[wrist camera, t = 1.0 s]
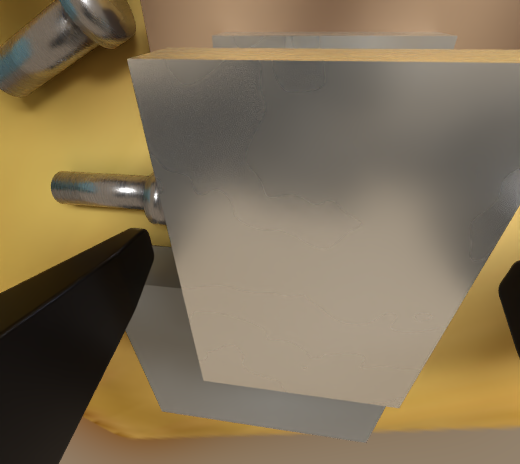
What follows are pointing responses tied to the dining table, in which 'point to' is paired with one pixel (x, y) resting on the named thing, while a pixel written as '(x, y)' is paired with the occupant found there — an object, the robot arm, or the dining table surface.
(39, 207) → the dining table surface
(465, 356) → the dining table surface
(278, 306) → the block
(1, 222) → the dining table surface
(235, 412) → the stand
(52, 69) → the bolt
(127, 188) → the bolt
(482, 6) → the stand
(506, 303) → the robot arm
